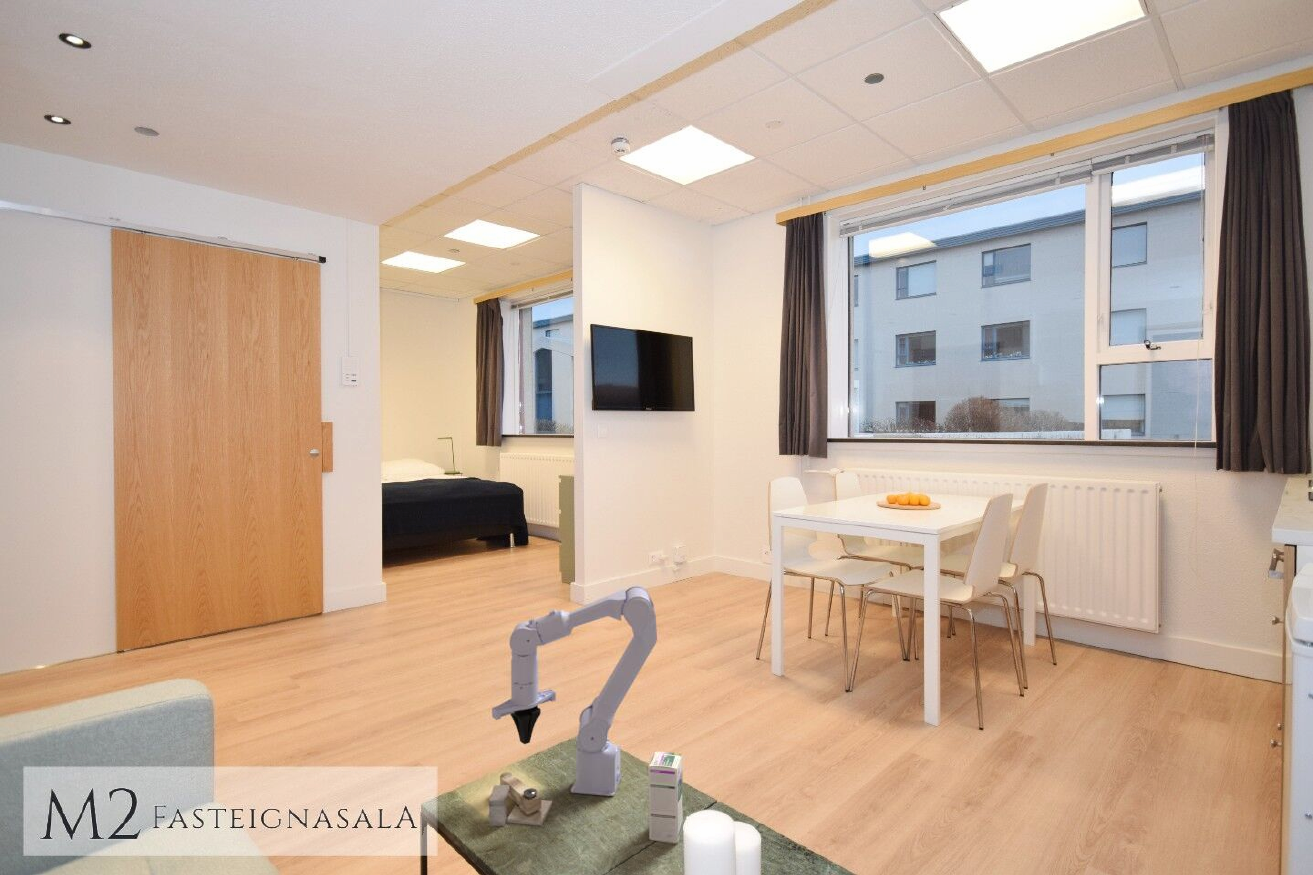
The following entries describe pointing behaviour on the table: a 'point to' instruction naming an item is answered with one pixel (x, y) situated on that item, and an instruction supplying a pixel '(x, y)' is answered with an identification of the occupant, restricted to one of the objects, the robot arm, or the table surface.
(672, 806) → the syrup box
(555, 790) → the table surface
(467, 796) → the table surface
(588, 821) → the table surface
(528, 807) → the link
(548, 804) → the pintle base
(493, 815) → the block
